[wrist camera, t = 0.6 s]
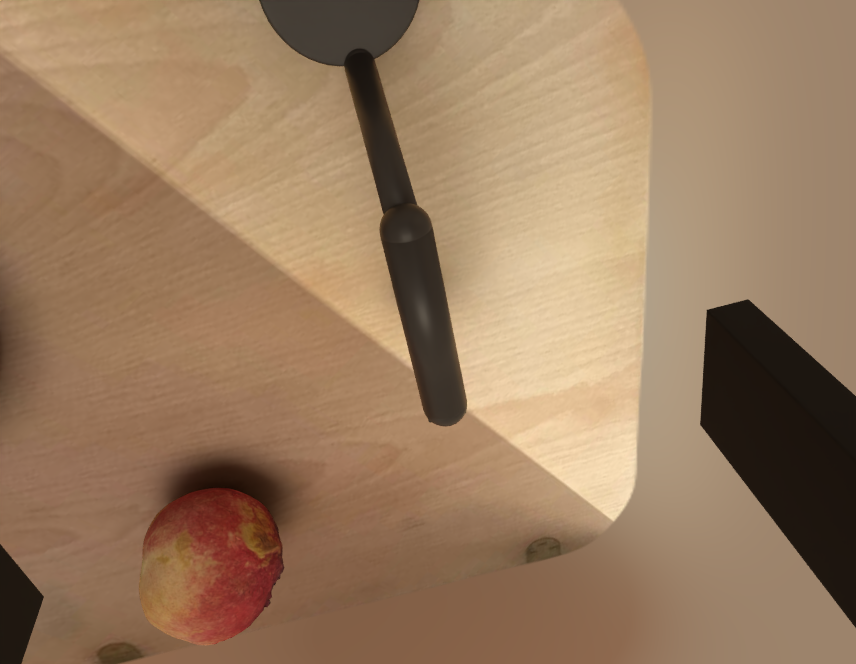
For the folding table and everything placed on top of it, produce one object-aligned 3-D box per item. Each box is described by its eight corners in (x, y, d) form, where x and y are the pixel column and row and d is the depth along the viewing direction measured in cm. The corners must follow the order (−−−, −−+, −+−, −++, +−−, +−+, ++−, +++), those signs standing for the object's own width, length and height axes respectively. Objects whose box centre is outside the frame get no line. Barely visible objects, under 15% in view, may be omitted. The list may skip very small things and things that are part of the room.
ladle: (233, -101, 25) (212, -87, 17) (394, -137, 25) (449, -141, 17) (357, 321, 36) (380, 453, 28) (469, 293, 36) (524, 415, 28)
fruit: (173, 442, 38) (151, 561, 31) (304, 473, 41) (309, 588, 34) (132, 534, 41) (105, 660, 35) (256, 558, 44) (253, 677, 38)
